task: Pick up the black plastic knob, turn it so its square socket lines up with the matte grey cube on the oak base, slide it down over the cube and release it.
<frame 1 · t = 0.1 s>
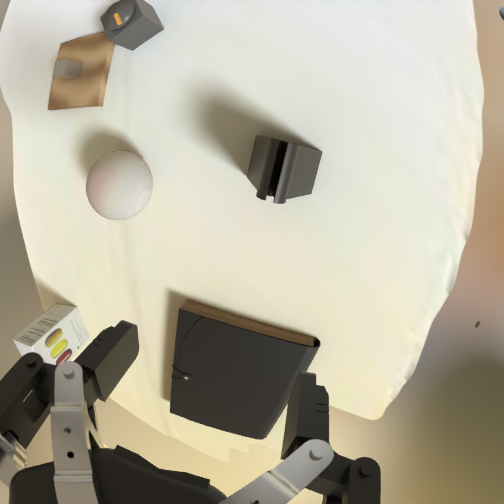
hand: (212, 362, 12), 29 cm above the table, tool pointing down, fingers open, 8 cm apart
file folder: (233, 377, 54), on the table
eye model: (137, 180, 41), on the table
knob: (142, 27, 31), on the table
supplement box: (73, 320, 57), on the table
matte grey cube: (67, 69, 31), on the base plate, point 4 cm above the table
phone stand: (284, 163, 37), on the table
base plate: (81, 71, 35), on the table
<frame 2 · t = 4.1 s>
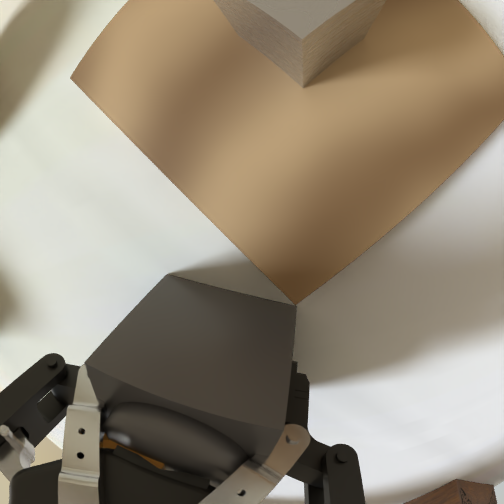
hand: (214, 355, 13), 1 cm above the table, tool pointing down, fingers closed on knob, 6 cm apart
tissue box cover: (442, 500, 23), on the table
knob: (221, 341, 14), on the table, touching gripper
matte grey cube: (299, 4, 5), on the base plate, point 4 cm above the table
base plate: (301, 47, 8), on the table
when the fingers open (4 cm above the table, at t = 9.9 s): knob stays where it is, resting on base plate.
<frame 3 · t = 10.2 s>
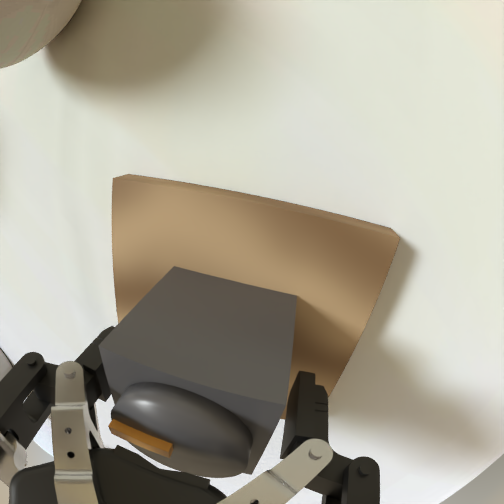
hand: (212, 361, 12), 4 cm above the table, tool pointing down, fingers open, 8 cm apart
eye model: (65, 12, 10), on the table
knob: (225, 330, 15), point 1 cm above the table, touching base plate
base plate: (232, 314, 16), on the table
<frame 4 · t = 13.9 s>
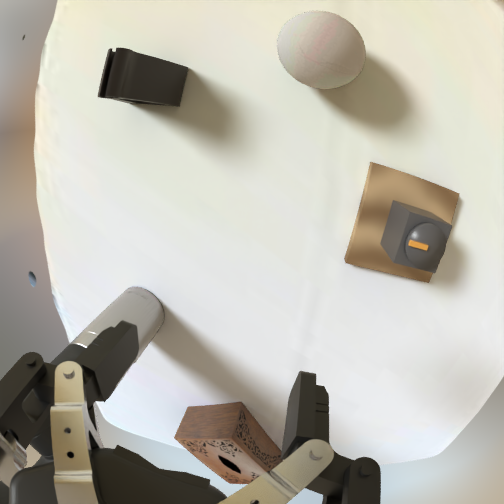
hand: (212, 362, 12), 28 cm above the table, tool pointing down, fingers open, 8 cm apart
tissue box cover: (239, 432, 60), on the table
eye model: (319, 61, 29), on the table
knob: (406, 227, 34), point 1 cm above the table, touching base plate
phone stand: (157, 85, 34), on the table
base plate: (402, 224, 35), on the table
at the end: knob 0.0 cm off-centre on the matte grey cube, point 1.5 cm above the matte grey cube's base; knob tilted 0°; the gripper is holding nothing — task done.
